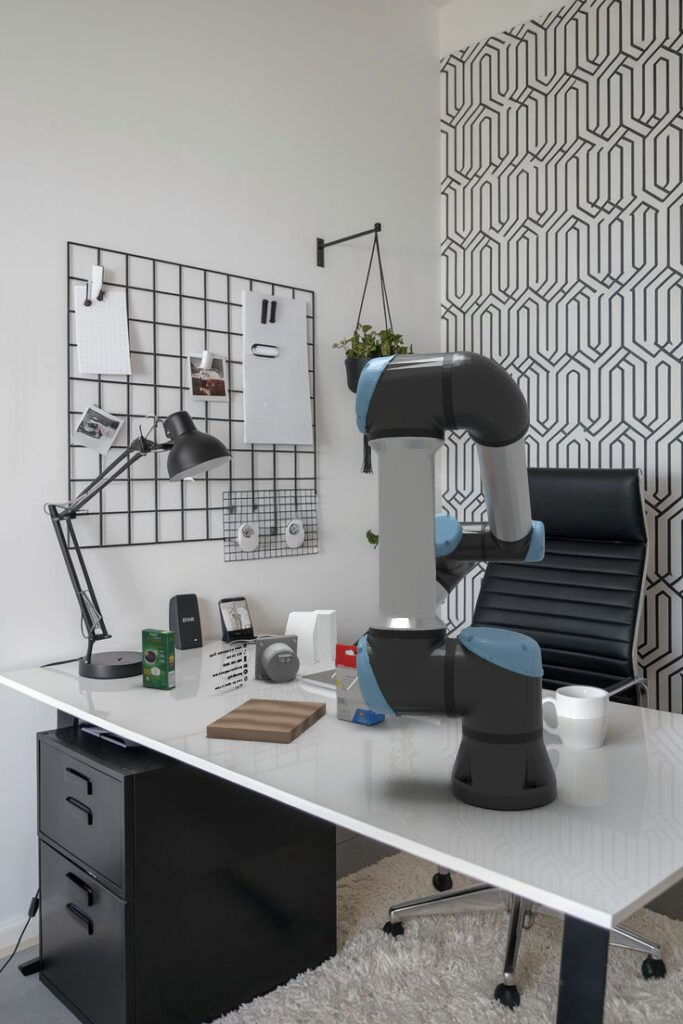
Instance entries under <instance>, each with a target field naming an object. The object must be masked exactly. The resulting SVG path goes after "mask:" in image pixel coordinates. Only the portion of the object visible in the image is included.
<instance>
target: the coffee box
mask: <svg viewBox="0 0 683 1024" xmlns="http://www.w3.org/2000/svg"><path fill="white" fill-rule="evenodd" d="M175 633H176V632H175V631H172V630H162V629H156V628H145V629H141V653H142V659H141V660H142V687H145V688H152V689H153V688H154V689H160V690H165V691H170V690H173V689H175V688H176V638H175V637H176V635H175Z"/></svg>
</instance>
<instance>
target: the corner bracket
mask: <svg viewBox="0 0 683 1024" xmlns="http://www.w3.org/2000/svg"><path fill="white" fill-rule="evenodd" d="M337 632H338V631H337V610H336V609H315V610H314V611H292V612H290V613H289V615H288V618H287V624H286V628H285V633H284V635H293V634H294V635H297V636H298V642H297V657H298V658H299V663H300V665H311V666H313V665H315V664H316V663H317V662H319V661H321V662H322V661H323V662H324V661H325V662H332V661H333V660H335V659H336V644H337V643H338V640H337V638H338V637H337V636H338V634H337Z"/></svg>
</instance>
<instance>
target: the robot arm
mask: <svg viewBox="0 0 683 1024" xmlns="http://www.w3.org/2000/svg"><path fill="white" fill-rule="evenodd" d="M354 409H355V415H356V418H355V420H356V422H355V423H356V426H357V429H358V431H359V432H360V434H363V435H365V436H367V438H368V439H367V440H368V441H367V443H368V444H367V445H368V446H369V447H370V448H371V449H372V450H373V451H374V452H375V453H376V455H377V465H378V466H377V469H378V470H377V471H378V473H377V474H378V475H377V476H378V477H377V479H378V480H377V481H378V484H377V485H378V486H377V487H378V490H377V491H378V492H377V493H378V494H377V495H378V499H377V501H378V502H377V503H378V614H377V615H376V616H375V618H374V619H373V620H371V622H369V624H368V630H366V632H365V633H364V634H362V635H361V636H360V637H359V639H357V640H356V641H355V642H354V643H353V645H351V646H357V654H356V652H353V651H352V652H351V653H350V655H357V656H356V666H357V676H358V677H357V678H356V679H355V680H354V681H353V682H352V684H351V685H350V686H349V687H348V688H347V690H348V691H349V692H350V693H352V694H353V695H354V696H355V697H356V698H357V699H359V698H360V697H361V695H362V697H363V699H364V702H365V704H366V705H367V707H368V708H369V709H370V710H371V711H373V712H375V713H378V714H385V715H388V716H389V715H390V716H394V717H397V718H400V717H403V716H404V717H405V716H406V717H420V718H421V717H423V718H424V717H425V718H439V719H440V718H443V719H460V720H461V740H460V744H459V745H458V746H459V747H458V750H457V754H456V756H455V760H454V762H453V766H452V770H451V774H450V786H451V787H450V790H451V792H452V794H453V796H454V797H456V798H457V799H459V800H460V801H463V802H464V803H467V804H470V805H472V806H476V807H477V806H478V807H480V808H481V807H482V808H485V809H486V808H487V809H492V810H493V809H494V810H507V811H508V810H510V811H511V810H512V811H513V810H524V809H532V808H537V807H541V806H544V805H546V804H548V803H550V802H551V801H553V800H554V799H555V798H556V796H557V793H558V792H557V791H558V790H557V777H556V776H557V775H556V773H555V769H554V767H553V764H552V762H551V759H550V755H549V753H548V749H547V747H546V744H545V740H544V718H543V717H544V715H543V713H544V712H543V711H544V710H543V683H542V682H543V676H544V669H543V664H542V663H543V662H542V651H541V647H540V645H539V644H538V641H536V640H535V639H534V638H532V637H530V636H528V635H526V634H524V633H519V632H517V631H513V630H508V629H503V628H497V627H486V626H481V627H477V626H476V627H475V626H471V627H468V626H467V627H465V628H462V629H461V630H460V632H459V635H458V637H447V624H446V622H444V621H443V619H441V617H440V616H439V615H438V613H437V610H438V609H439V607H440V606H441V605H444V604H445V603H446V601H445V600H446V599H447V598H448V596H449V595H450V594H451V593H452V592H453V590H454V589H456V587H457V586H458V585H459V584H460V582H462V580H463V579H464V578H465V577H466V575H468V574H469V573H470V571H472V570H473V568H475V565H476V564H477V563H520V564H524V563H534V562H540V561H542V560H543V559H544V557H545V555H546V554H545V548H546V547H545V546H546V545H545V543H546V542H545V541H546V539H545V537H546V536H545V535H546V534H545V524H544V523H543V522H542V521H540V520H534V519H532V509H531V501H530V487H529V478H528V467H527V465H528V464H527V456H526V454H527V453H526V443H525V437H526V435H527V433H528V432H529V429H530V423H531V422H530V413H529V412H530V410H529V407H528V403H527V400H526V398H525V395H524V393H523V391H522V389H521V387H520V386H519V384H518V383H517V382H516V380H515V379H514V378H513V377H512V375H511V374H510V373H509V372H508V371H507V370H506V369H505V368H503V366H501V365H500V364H499V363H497V362H496V361H494V360H493V359H491V358H489V357H487V356H485V355H484V354H481V353H477V352H474V351H469V350H457V351H448V352H427V353H407V354H405V353H404V354H403V353H402V354H397V353H396V354H392V355H390V356H383V357H375V358H372V359H370V360H369V361H368V362H366V364H365V365H364V367H363V369H362V370H361V373H360V377H359V378H358V384H357V388H356V396H355V407H354ZM460 430H463V431H464V430H465V431H467V434H468V437H469V438H470V439H471V441H472V442H474V443H475V447H476V453H477V458H478V465H479V472H480V476H481V484H482V490H483V497H484V503H485V508H486V515H487V520H488V521H487V520H485V521H459V520H458V519H457V518H456V517H455V516H453V515H451V514H448V513H446V512H444V513H443V512H442V513H441V512H439V513H436V454H437V452H438V451H439V450H441V449H442V448H443V446H444V445H445V444H446V436H445V435H446V431H460ZM331 679H333V681H335V682H336V671H334V673H333V674H332V675H331Z"/></svg>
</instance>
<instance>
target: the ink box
mask: <svg viewBox="0 0 683 1024" xmlns="http://www.w3.org/2000/svg"><path fill="white" fill-rule="evenodd" d="M348 651H349V652H350V651H352V652H356V654H357V646H352V645H350V644H343V643H338V642H337V644H336V657H335V658H334V666H335V667H334V668H335V669H334V670H335V671H334V672H336V681H335V692H336V696H335V697H336V714H337V715H336V717H337V719H338V720H342V721H346V722H351V723H356V724H360V725H365V726H371V725H375V724H378V723H380V722H381V723H382V722H383V721H385V720H386V717H385V716H386V714H378V713H375V712H373V711H371V710H370V709H369V708H368V707H367V705H366V704H365V702H364V699H363V697H362V695H361V697H360V698H359V699H357V698H356V697H355V696H354V695H353V694H352V693H350V692H349V691H348V690H347V688H348V687H349V686H350V685H351V684H352V682H353V681H354V680H355V679H356V678H357V677H358V676H357V666H356V656H357V655H351V654H349V653H347V652H348Z"/></svg>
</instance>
